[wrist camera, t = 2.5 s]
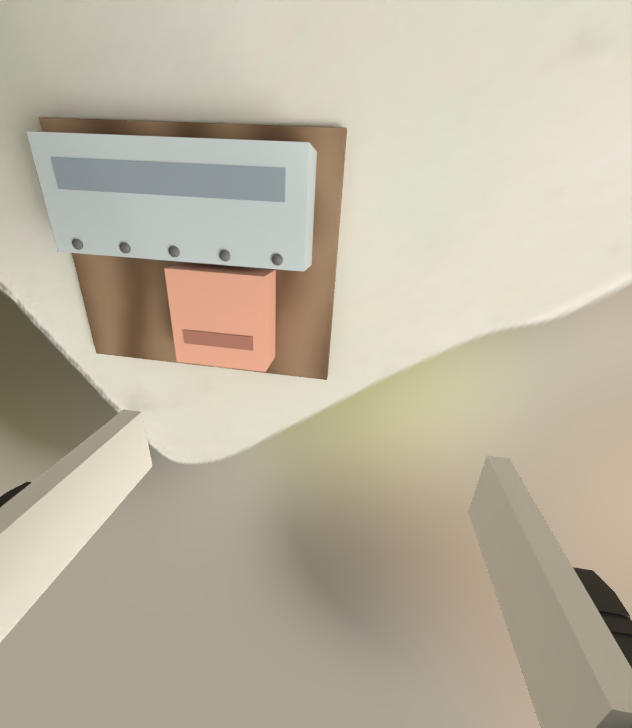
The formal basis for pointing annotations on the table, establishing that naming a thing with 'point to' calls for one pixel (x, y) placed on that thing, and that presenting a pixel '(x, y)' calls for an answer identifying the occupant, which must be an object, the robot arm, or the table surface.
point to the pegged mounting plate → (179, 198)
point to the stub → (223, 315)
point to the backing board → (147, 276)
